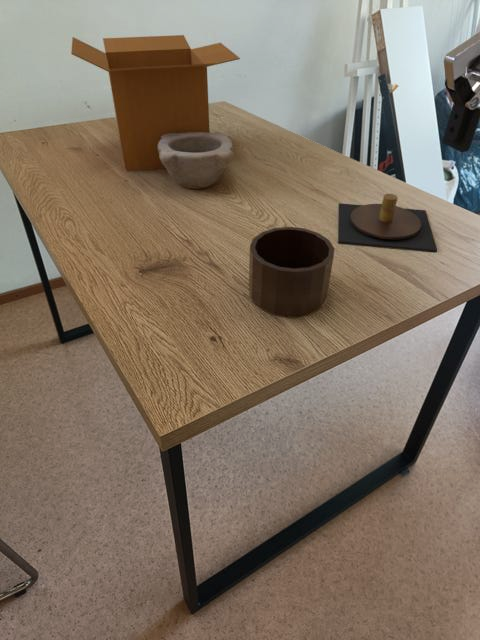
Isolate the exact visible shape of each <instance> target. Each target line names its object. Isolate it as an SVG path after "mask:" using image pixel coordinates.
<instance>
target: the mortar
mask: <svg viewBox="0 0 480 640" xmlns="http://www.w3.org/2000/svg"><path fill="white" fill-rule="evenodd" d="M233 148H234V144H233V142H232V140H231V138H230V135H229V134H227V133H225V132H219V131H218V132H210V133H207V132H187V133H167V134H164V135H163V136H161V140H160V141H159V143H158V152H159V157H160V160H161V162H162V163H163V165H164V166H165V167H164V168H165V169H166V171H167V172H168V174H169V175H170V177H171V178H172V179H173V181H174V182H175V183H176V184H177V185H179V186H181V187H182V188H187V189H191V190H193V189H194V190H199V189H205V188H209V187H211V186H213V185H214V184H216V183H217V182H218V180H219V179H220V178H221V176H222V174H223V173H224V171H225V169H226V168H227V167H228V166H230V165H231V163H232V162H233V161H234V157H235V154H234V151H233Z"/></svg>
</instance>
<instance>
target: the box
mask: <svg viewBox="0 0 480 640" xmlns="http://www.w3.org/2000/svg"><path fill="white" fill-rule="evenodd" d="M102 41H103V47H104V50H105V51H102V50H100V49H98V48H96V47H95V46H92V45H90V44H89V43H87V42H84V41H82V40H80V39H78V38H76V37H75V36H73V37H72V39H71V50H70V51H71V55H72V56H74V57H76V58H78V59H81V60H83V61H85V62H86V63H89V64H91V65H93V66H95V67H97V68H99V69H102V70H104V71H106V72H108V77H109V84H110V90H111V97H112V101H113V107H114V113H115V119H116V126H117V131H118V137H119V143H120V149H121V153H122V159H123V164H124V165H123V166H124V169H125V171H126V172H134V171H143V170H153V169H154V170H155V169H162V168H163V169H164V168H166V167H165V166H164V165H163V163H162V162H161V160H160V157H159V152H158V143H159V141H160V140H161V136H163V135H164V134H167V133H187V132H207V133H211V132H210V111H209V109H210V108H209V85H208V84H209V83H208V68H209V67H212V66H216V65H221V64H225V63H230V62H234V61H237V60H238V61H239V60H240V59H241V57H240V56H238V55H237V54H235V53H234V52H233V51H232V50H231V49H229V48H228V47H227V46H226V45H224V44H223V43H222V42H215V43H213V44H208V45H203V46H199V47H195V48H191V47H190V45H189V42H188V40H187V39H186V36H185V35H184V34H178V35H151V36H129V37H127V36H125V37H106V38H105V37H103V38H102Z"/></svg>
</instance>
